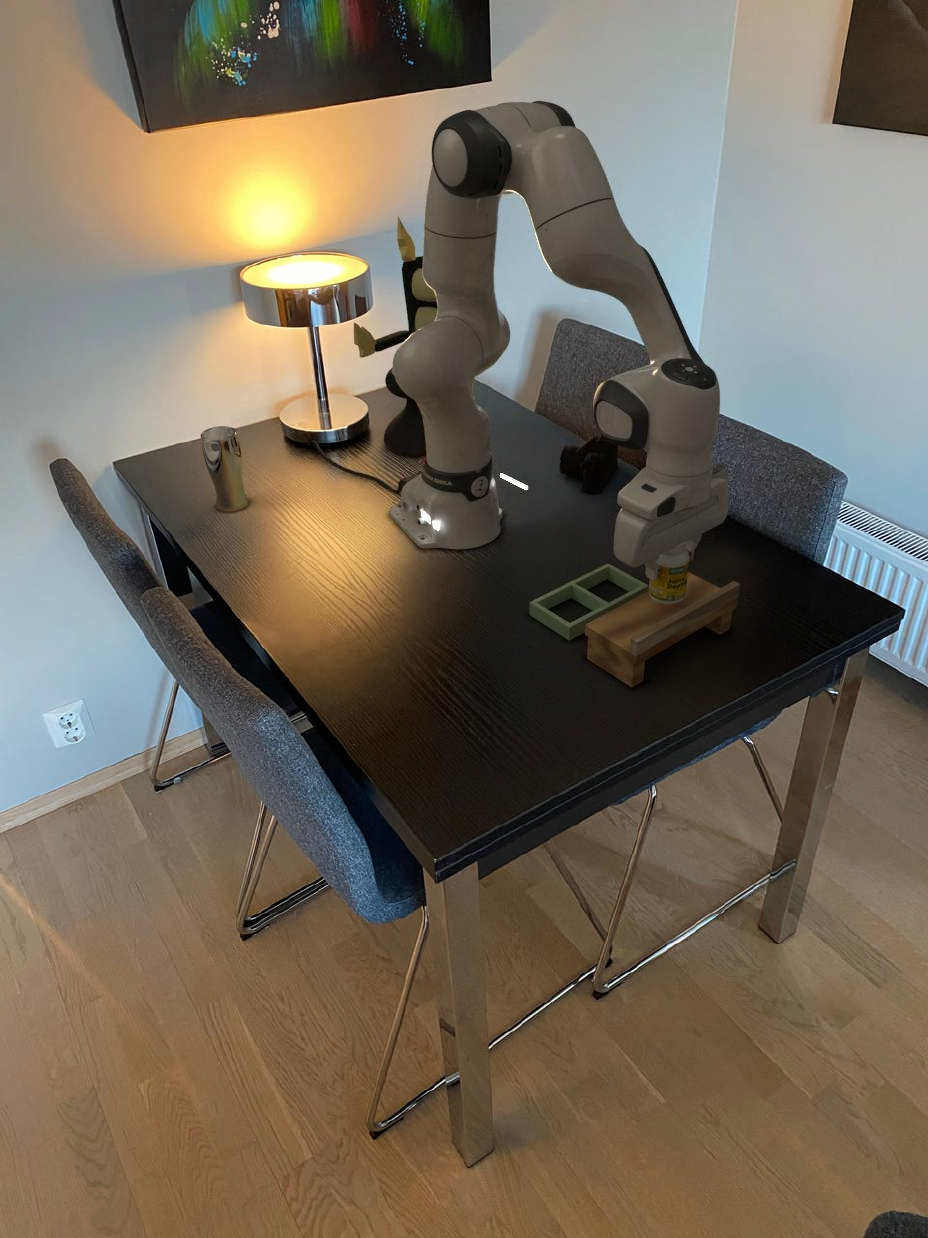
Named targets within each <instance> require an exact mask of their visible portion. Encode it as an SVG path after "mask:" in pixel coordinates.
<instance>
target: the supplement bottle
mask: <svg viewBox="0 0 928 1238" xmlns="http://www.w3.org/2000/svg"><path fill="white" fill-rule="evenodd" d="M685 548H686V542H683V543H682V544H680V545H678V546H676V547H675V548H673V549H671V550H669V551H667V552H665V553H663V554H661V555H659V559H658V560H657V561H656V564H657V565H659V566H661V567H662V572H661V573H662V575H661V576H660V577H659V578H657V579H655V580H651V579H649V584H648V585H649V589H648V591H649V595H650V597H651V598H652V599H653V600H654V601H656V602H658V603H662V604H675V603H678V602H680V601H682V600H683V599H684V597H685V592H686V584H687V576H688V572H689V567H690V561H689V553H688V551H687V550H686V549H685Z"/></svg>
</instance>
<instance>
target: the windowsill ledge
mask: <svg viewBox="0 0 928 1238" xmlns="http://www.w3.org/2000/svg"><path fill="white" fill-rule="evenodd" d="M740 588H741V583H740V582H737V581H735V580H732V581H731V582H729V583H728V584H726V585H724V586H721V587H719V586H717V585H715V584H712V583H710V582H709V581H707V580H705V579H703V578H702V577H699V576H697V575H695V574H693V573H692V572H689V571H688V576H687V584H686V592H685V597H684V599H683V600H682V601H680V602H678V603H675V604H662V603H658V602H656V601H654V600H653V599H652V598H651V597H650V595H649V590H648V592H646V593H644V594H642V595H640V596H639V597H637V598H635V599H633V600H631V601H629V602H627V603H625V604H624V605H622V606H620V607H618V608H616V609H614V610H612V611H610V612H609V613H607V614H605V615H603V616H601V617H599V618H597V619H595V620H593V621H592V622H590V623H588V624H586V625H585V632H584V635H585V636H586V637H587V651H586V652H587V653H586V654H587V655H586V659H587V660H588V661H590V662H591V663H593V664H594V665H596V666H598V667H599V668H601V669H602V670H604V671H606V672H607V673H608V674H610V675H612V677H615V678H616V679H618V680H619V681H620V682H622V683H624V684H625V685H627V686H629V687H630V688H634V687H635V686H637V685H639V684H640V683H642V682H643V681H644V676H645V675H644V674H645V667H646V665H645V663H646V661H647V660H649V659H650V658H652V657H654V656H656V655H657V654H659V653H661V652H662V651H664V650H666V649H668V648H670V647H671V646H672V645H674V644H676V643H678V642H679V641H682V640H683V639H685V638H687V637H688V636H690V635H692V634H693V633H695V632H697V631H698V630H701V629H702V628H706V629H708V630H710V631H711V632H714V633H715V634H717V635H720V636H721V635H722V634H724V633H725V632H727V631H729V630H730V628H731V622H732V616H733V611H734V610H735V609H736V608H737V606H738V601H739V594H740Z"/></svg>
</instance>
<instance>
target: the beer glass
mask: <svg viewBox="0 0 928 1238" xmlns="http://www.w3.org/2000/svg"><path fill="white" fill-rule="evenodd" d="M200 441H201V449H202V453H203V460H204V464H205V466H206V469H207V472H208V474H209V477H210V479H211V481H212V483H213V486H214V489H215V493H216V494H215V496H216V497H215V499H216V500H215V501H216V507H217V509H218V510H219V511H221V512H225V513H232V512H237V511H241V510H243V509H245V508H246V507H247V506H248V505H249V499H248V496H247V494H246V491H245V487H244V482H243V481H244V479H243V472H244V471H243V455H242V448H241V443H240V440H239V437H238V433H237V429H236V428H235V427H232V426H228V425H221V426H220V425H219V426H213V427H210V428H207V429H205V430H203V431H202V432H201V433H200Z"/></svg>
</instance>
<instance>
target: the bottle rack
mask: <svg viewBox="0 0 928 1238" xmlns="http://www.w3.org/2000/svg"><path fill="white" fill-rule="evenodd" d="M605 581H609V582H611V583H613V584H614V585H616V586H618V587H620V588H622V589H624V590H625V591H627V593H625V594H623V595H621V596H619V597H617V598H615V599H613V600H611V601H606V600H604V599H602V598H601V597H599V596H597V595H596V594H595V593H592V592H591V591H589V590H590V589H591V588H593V587H595V586H597V585H598V584H601V583H603V582H605ZM648 591H649V584H646V583H645V582H643V581H641V580H639V579H637V578H635V577H634V576H633V575H630V574H629V573H627V572H625V571H623V570H621V569H619V568H617V567H615V566H614V565H611V564H610V563H606V564H604V565H602V566H600V567H598V568H596V569H594V570H592V571H590V572H587V573H585V574H584V575H582V576H580V577H578V578H576V579H574V580H571V581H569V582H568V583H565V584H564V585H561V586H560V587H557V588H556V589H554V590H552V591H550V592H548V593H545V594H544V595H542V596H539V597H538V598H535V599H533V600H531V601H530V602H529V616H530V617H532V618H533V619H535V620H536V621H538V622H540V623H541V624H542V625H544V626H546V627H548V628H549V629H550V630H552V631H554V632H555V633H557V634H558V635H560V636H561V637H563V638H565V639H566V640H568V641H571V640H573V639H575V638H577V637H580V636H581V635H582V634H585V625H586V624H588V623H590V622H592V621H593V620H595V619H597V618H599V617H601V616H603V615H605V614H607V613H609V612H610V611H612V610H614V609H616V608H618V607H620V606H622V605H624V604H625V603H627V602H629V601H631V600H633V599H635V598H637V597H639V596H640V595H642V594H644V593H646V592H648ZM570 599H572V600H574V601H575V602H577V603H579V604H581V605H582V606H584V607H586V608H587V609H589V610H591V611H590V612H589V613H586V614H585V615H582V616H581V617H579V618H578V619H575V620H574V621H573V620H572V621H571V622H569V621H567V620H565V619H564V618H562V617H560V616H559V615H557V614H556V613H554V612H552V611H551V610H550V609H552V608H554V607H556V606H557V605H560V604H561V603H563V602H566V601H567V600H570Z"/></svg>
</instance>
